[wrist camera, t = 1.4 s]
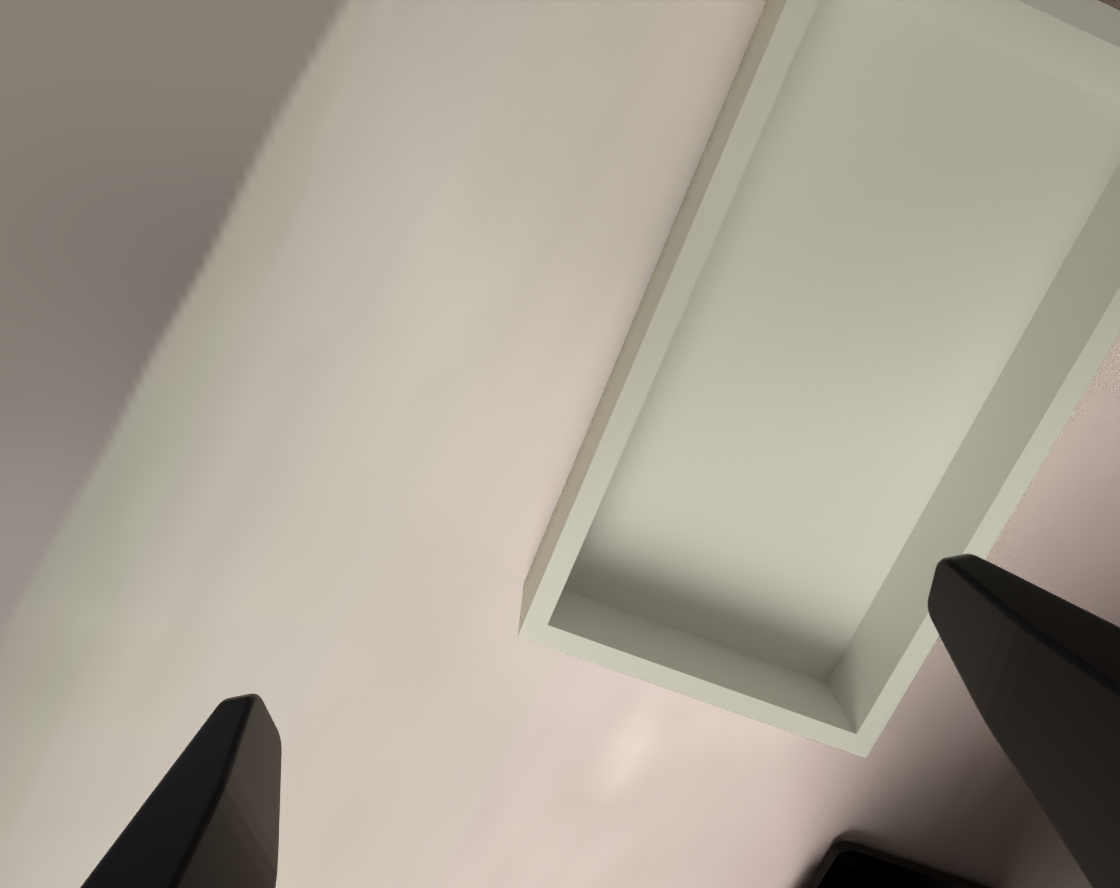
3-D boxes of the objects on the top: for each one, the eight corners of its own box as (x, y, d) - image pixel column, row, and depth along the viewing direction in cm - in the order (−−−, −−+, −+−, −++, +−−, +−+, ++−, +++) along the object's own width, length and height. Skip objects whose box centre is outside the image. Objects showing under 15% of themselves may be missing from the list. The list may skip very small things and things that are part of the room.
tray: (1161, 105, 19) (1270, 82, 16) (828, 693, 23) (865, 758, 20) (794, -66, 18) (839, -123, 15) (523, 584, 22) (517, 636, 19)
